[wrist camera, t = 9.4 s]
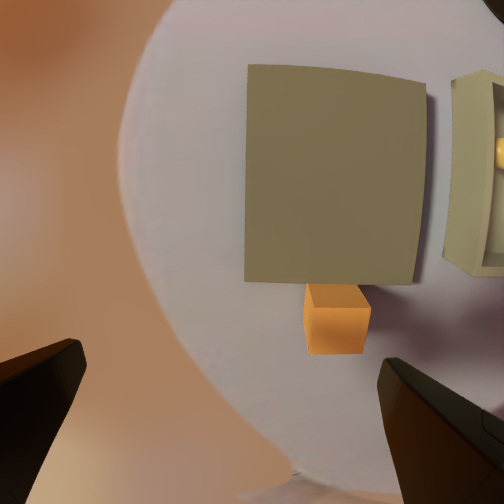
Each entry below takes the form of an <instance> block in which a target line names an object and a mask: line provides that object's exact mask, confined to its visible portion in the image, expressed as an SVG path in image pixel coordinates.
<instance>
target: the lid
mask: <svg viewBox="0 0 504 504" xmlns="http://www.w3.org/2000/svg"><path fill="white" fill-rule="evenodd" d="M426 143H427V101H426V84H425V83H420V82H416V81H411V80H406V79H401V78H395V77H390V76H384V75H378V74H372V73H365V72H358V71H350V70H341V69H332V68H321V67H308V66H292V65H248V84H247V135H246V196H245V274H244V282H269V283H302V284H306V291H305V302H304V313H303V323H304V328H305V334H306V340H307V346H308V352H309V354H363V349H364V344H365V339H366V334H367V329H368V324H369V318H370V313H371V306H370V305H369V303H368V302H367V300H366V298H365V297H364V295H363V294H362V292H361V290H360V289H359V287H358V286H357V285H412V280H413V274H414V268H415V262H416V255H417V249H418V242H419V234H420V226H421V217H422V208H423V197H424V184H425V168H426Z"/></svg>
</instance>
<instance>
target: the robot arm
mask: <svg viewBox="0 0 504 504" xmlns="http://www.w3.org/2000/svg"><path fill="white" fill-rule="evenodd" d="M86 367H87V363H86V358H85V355H84V351H83V347H82V344H81V342H80V341H79V340H76V339H70V338H69V339H65V340H62V341H59V342H57V343H54V344H51V345H48V346H46V347H43V348H40V349H37V350H35V351H32V352H29V353H26V354H24V355H21V356H18V357H15V358H13V359H10V360H7V361H4V362H1V363H0V504H25V503H26V500H27V498H28V496H29V493H30V491H31V489H32V486H33V484H34V482H35V480H36V477H37V475H38V473H39V471H40V468H41V466H42V464H43V462H44V460H45V458H46V456H47V453H48V451H49V449H50V447H51V445H52V443H53V441H54V439H55V437H56V435H57V433H58V431H59V429H60V427H61V425H62V423H63V421H64V419H65V417H66V415H67V413H68V411H69V409H70V407H71V405H72V403H73V400H74V398H75V395H76V393H77V390H78V388H79V385H80V382H81V380H82V377H83V375H84V373H85V370H86ZM377 390H378V395H379V401H380V407H381V412H382V419H383V425H384V430H385V434H386V438H387V441H388V445H389V448H390V452H391V455H392V459H393V463H394V466H395V470H396V474H397V477H398V481H399V485H400V489H401V493H402V497H403V501H404V504H504V421H503V420H501V419H499V418H497V417H496V416H494V415H492V414H490V413H489V412H487V411H486V410H484V409H483V410H482V409H481V408H480V407H479V406H477V405H475V404H474V403H472V402H470V401H469V400H467V399H465V398H464V397H462V396H460V395H459V394H457V393H455V392H454V391H452V390H450V389H449V388H447V387H445V386H444V385H442V384H440V383H439V382H437V381H436V380H434V379H432V378H431V377H429V376H427V375H426V374H424V373H422V372H421V371H419V370H417V369H416V368H414V367H413V366H411V365H409V364H408V363H406V362H404V361H403V360H401V359H399V358H397V357H395V358H385V359H384V360H383V362H382V366H381V370H380V374H379V377H378V381H377Z"/></svg>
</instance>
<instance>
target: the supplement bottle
mask: <svg viewBox="0 0 504 504" xmlns="http://www.w3.org/2000/svg"><path fill="white" fill-rule="evenodd" d="M484 2H485V3H486V4H487V6H488V7H489V8H490V9H491V10H492V12H493V13H494V14H495V15H496V16H497V17H498V18H500V19H501V20H502V21H503V22H504V0H484Z"/></svg>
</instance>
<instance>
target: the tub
mask: <svg viewBox="0 0 504 504" xmlns="http://www.w3.org/2000/svg"><path fill="white" fill-rule="evenodd" d="M451 85H452V106H453V154H452V175H451V189H450V201H449V211H448V220H447V228H446V235H445V242H444V249H443V255H442V257H444V258H445V259H447V260H448V261H450V262H451V263H453V264H454V265H456V266H457V267H459V268H460V269H462V270H463V271H465V272H466V273H468V274H469V275H470V276H472V277H495V276H504V77H502V76H499V75H497V74H494V73H492V72H489V71H486V70H481V71H478V72H475V73H472V74H469V75H466V76H464V77H461V78H458V79H455V80H452V81H451Z"/></svg>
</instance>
